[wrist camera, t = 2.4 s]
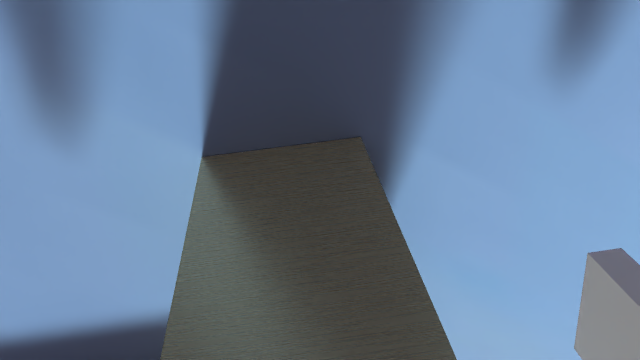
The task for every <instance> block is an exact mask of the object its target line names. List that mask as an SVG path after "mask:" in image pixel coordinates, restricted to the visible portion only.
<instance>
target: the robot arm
mask: <svg viewBox="0 0 640 360" xmlns="http://www.w3.org/2000/svg"><path fill="white" fill-rule="evenodd" d="M574 349H575V350H576V352H577V353H578V354H579V356H580V357H581V358H582V360H640V265H639V264H638V263H637V262H636V261H635V260H634V259H632V258H631V257H630V256H629V255H628V254H627V253H626V252H625V251H624V250H623V249H622V248H619V249H612V250H605V251H598V252H591V253H588V254H587V261H586V268H585V275H584V282H583V289H582V296H581V303H580V310H579V317H578V324H577V331H576V338H575V345H574Z"/></svg>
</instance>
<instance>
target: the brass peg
mask: <svg viewBox="0 0 640 360" xmlns="http://www.w3.org/2000/svg"><path fill="white" fill-rule="evenodd" d="M160 360H457V359H456V357H455V354H454V352H453V350H452V347H451V345H450V343H449V340H448V338H447V336H446V333H445V331H444V329H443V327H442V324H441V322H440V320H439V317H438V315H437V313H436V310H435V308H434V306H433V303H432V301H431V299H430V296H429V294H428V292H427V290H426V287H425V285H424V283H423V280H422V278H421V276H420V273H419V271H418V269H417V266H416V264H415V262H414V260H413V257H412V255H411V253H410V250H409V248H408V246H407V243H406V241H405V239H404V236H403V234H402V232H401V229H400V227H399V225H398V223H397V220H396V218H395V216H394V213H393V211H392V209H391V206H390V204H389V202H388V199H387V197H386V195H385V192H384V190H383V188H382V186H381V183H380V181H379V179H378V176H377V174H376V172H375V169H374V167H373V165H372V162H371V160H370V158H369V156H368V153H367V151H366V149H365V146H364V144H363V142H362V139H361V137H356V138H348V139H340V140H332V141H324V142H317V143H309V144H301V145H293V146H285V147H277V148H269V149H262V150H254V151H246V152H238V153H230V154H222V155H214V156H207V157H202V159H201V164H200V168H199V173H198V178H197V183H196V188H195V193H194V198H193V202H192V207H191V212H190V217H189V222H188V227H187V232H186V237H185V241H184V246H183V251H182V256H181V261H180V266H179V271H178V276H177V280H176V285H175V290H174V295H173V300H172V305H171V310H170V314H169V319H168V324H167V329H166V334H165V339H164V344H163V349H162V353H161V358H160Z"/></svg>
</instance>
